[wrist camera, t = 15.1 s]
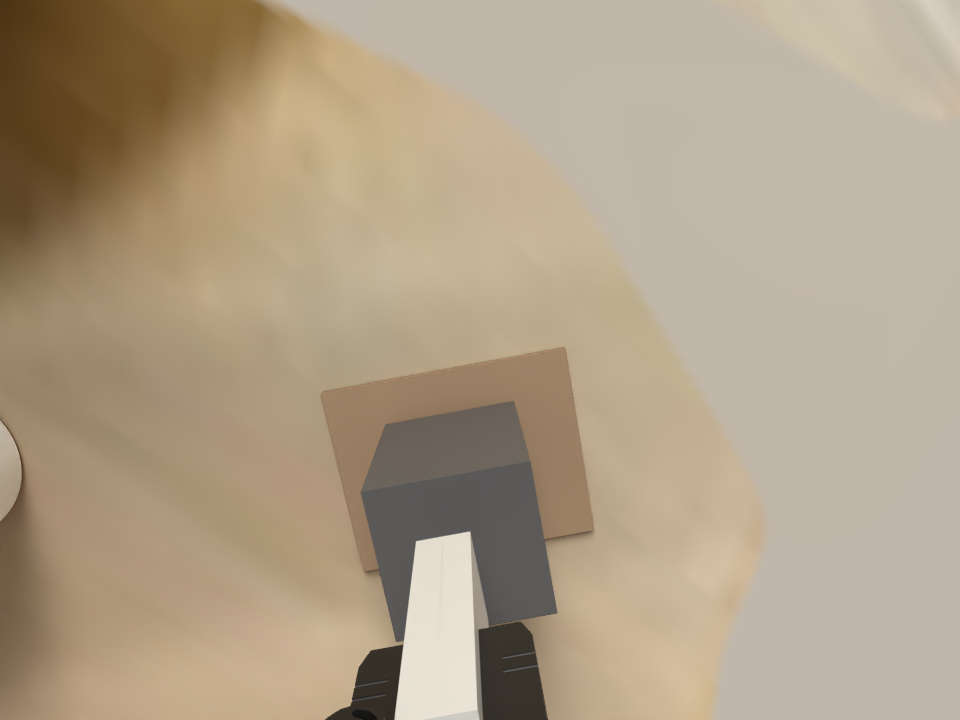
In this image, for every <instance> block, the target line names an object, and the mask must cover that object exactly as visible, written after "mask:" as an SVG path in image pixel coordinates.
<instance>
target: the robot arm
mask: <svg viewBox="0 0 960 720" xmlns="http://www.w3.org/2000/svg"><path fill="white" fill-rule="evenodd" d="M326 720H548V718H547V712H546V707H545V701H544V695H543V690H542V684H541V679H540V674H539V668H538V663H537V658H536V652H535V647H534V642H533V636H532V634H531V632H530V631H529V630H528V629H527V628H526V627H525V626H524V625H523V624H522V623H521V622H517V623H511V624H506V625H500V626H495V627H489V625H488V616H487V611H486V606H485V601H484V596H483V591H482V587H481V582H480V577H479V572H478V567H477V562H476V557H475V552H474V547H473V542H472V538H471V533H470V532H464V533H459V534H453V535H448V536H442V537H437V538H431V539H426V540H421V541H416V546H415V555H414V563H413V571H412V579H411V588H410V596H409V604H408V612H407V621H406V629H405V637H404V645H399V646H394V647H388V648H383V649H377V650H372V651H370V653H369V654H368V655H367V657H366V658H365V660H364V661H363V662H362V664H361V665H360V667H359V669H358V674H357V678H356V683H355V688H354V693H353V697H352V703H351V706H349V707H346V708H343V709H340V710H339V711H337V712H335V713H334V714H332V715H331V716H329V717H328V718H327V719H326Z"/></svg>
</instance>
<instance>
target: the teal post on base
mask: <svg viewBox="0 0 960 720" xmlns="http://www.w3.org/2000/svg"><path fill="white" fill-rule="evenodd" d="M321 398H322V402H323V407H324V411H325V415H326V419H327V423H328V427H329V431H330V435H331V439H332V443H333V447H334V452H335V456H336V460H337V464H338V468H339V472H340V476H341V480H342V484H343V488H344V492H345V497H346V501H347V505H348V509H349V513H350V517H351V521H352V525H353V529H354V533H355V537H356V542H357V546H358V550H359V554H360V558H361V562H362V566H363V570H364V572H365V571H371V570H376V569H379V568H378V563H377V559H376V555H375V551H374V547H373V542H372V538H371V534H370V530H369V526H368V521H367V517H366V513H365V509H364V505H363V500H362V496H361V489H362V487H363V484H364V481H365V478H366V476H367V473H368V470H369V467H370V465H371V462H372V459H373V457H374V454H375V451H376V448H377V446H378V443H379V440H380V437H381V435H382V432H383V429H384V427H385V424H390V423H395V422H401V421H406V420H411V419H417V418H422V417H428V416H433V415H439V414H444V413H450V412H455V411H461V410H466V409H471V408H477V407H482V406H488V405H493V404H499V403H504V402H510V401H514V402H515V406H516V410H517V413H518V417H519V421H520V424H521V428H522V432H523V435H524V439H525V443H526V446H527V450H528V454H529V457H530V461H531V467H532V472H533V478H534V484H535V489H536V495H537V501H538V506H539V512H540V518H541V523H542V529H543V535H544V539H548V538H554V537H559V536H565V535H571V534H576V533H582V532H587V531H593V530H594V525H593V519H592V513H591V506H590V500H589V494H588V487H587V481H586V475H585V468H584V462H583V456H582V449H581V443H580V437H579V430H578V424H577V418H576V412H575V405H574V399H573V393H572V386H571V380H570V374H569V367H568V361H567V355H566V349H565V348H564V347H563V348H557V349H552V350H546V351H541V352H536V353H530V354H525V355H519V356H514V357H508V358H503V359H498V360H492V361H487V362H481V363H476V364H470V365H465V366H460V367H454V368H449V369H443V370H438V371H432V372H427V373H422V374H416V375H411V376H405V377H400V378H394V379H389V380H384V381H378V382H373V383H367V384H362V385H357V386H351V387H346V388H340V389H335V390H329V391H324V392H322V393H321Z"/></svg>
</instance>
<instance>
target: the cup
mask: <svg viewBox="0 0 960 720" xmlns="http://www.w3.org/2000/svg"><path fill="white" fill-rule="evenodd" d="M21 478H22V469H21V461H20V456H19V453H18V450H17V447H16V444H15V442H14V440H13V438H12V436H11V434H10V433H9V431H8V430H7V428H6V427H5V425H4V424H3V423H2V422H1V420H0V521H1V520H2V519H3V518H4V517H5V516H6V515H7V514H8V512H9V511H10V510H11V508H12V507H13V505H14V503H15V501H16V499H17V497H18V494H19V491H20V486H21Z"/></svg>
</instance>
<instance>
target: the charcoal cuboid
mask: <svg viewBox="0 0 960 720" xmlns="http://www.w3.org/2000/svg"><path fill="white" fill-rule="evenodd" d="M361 496H362V500H363V505H364V509H365V513H366V517H367V521H368V526H369V530H370V534H371V538H372V542H373V547H374V551H375V555H376V559H377V563H378V568H379V572H380V576H381V580H382V584H383V588H384V593H385V597H386V601H387V605H388V609H389V614H390V618H391V622H392V626H393V630H394V635H395V639H396V642H399V641H404V637H405V629H406V621H407V612H408V604H409V596H410V588H411V579H412V571H413V563H414V555H415V546H416V541H421V540H426V539H431V538H437V537H442V536H448V535H453V534H459V533H464V532H470V533H471V538H472V542H473V547H474V552H475V557H476V562H477V567H478V572H479V577H480V582H481V587H482V591H483V596H484V601H485V606H486V611H487V616H488V625H494V624H500V623H506V622H511V621H517V620H522V619H528V618H534V617H539V616H545V615H551V614H556V613H557V608H556V603H555V597H554V591H553V586H552V580H551V574H550V569H549V563H548V557H547V552H546V546H545V540H544V535H543V529H542V523H541V518H540V512H539V506H538V501H537V495H536V489H535V484H534V478H533V472H532V467H531V461H530V457H529V454H528V450H527V446H526V443H525V439H524V435H523V432H522V428H521V424H520V421H519V417H518V413H517V410H516V406H515V402H514V401H510V402H504V403H499V404H493V405H488V406H482V407H477V408H471V409H466V410H461V411H455V412H450V413H444V414H439V415H433V416H428V417H422V418H417V419H411V420H406V421H401V422H395V423H390V424H385V427H384V429H383V432H382V435H381V437H380V440H379V443H378V446H377V448H376V451H375V454H374V457H373V459H372V462H371V465H370V467H369V470H368V473H367V476H366V478H365V481H364V484H363V487H362V489H361Z"/></svg>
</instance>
